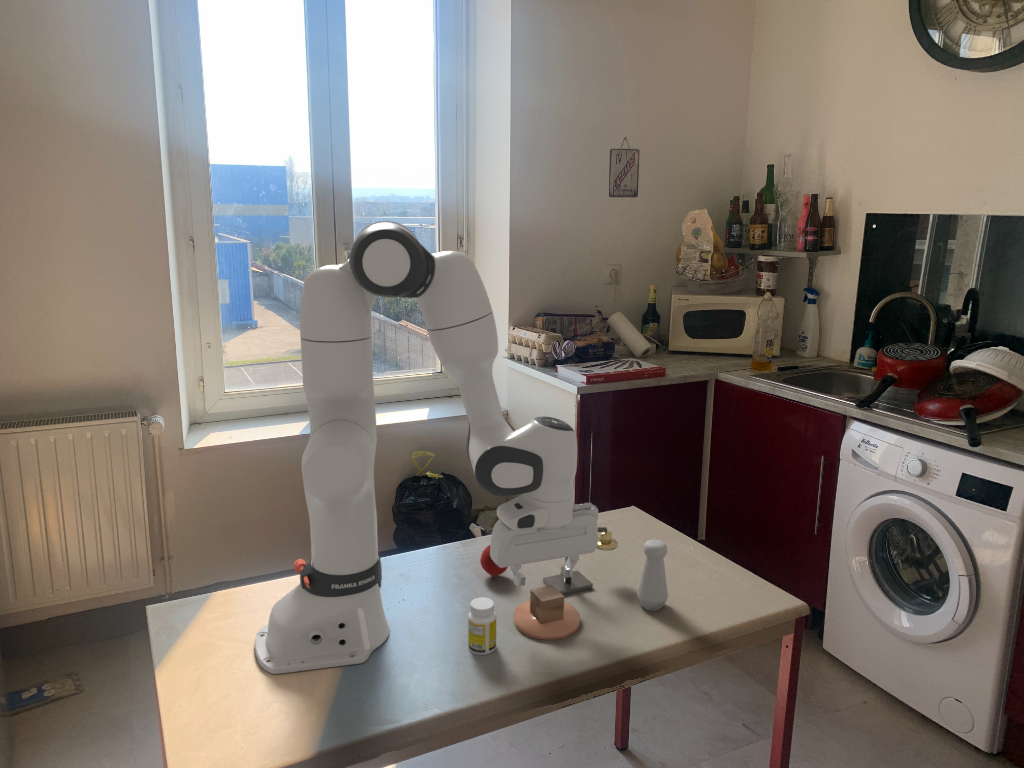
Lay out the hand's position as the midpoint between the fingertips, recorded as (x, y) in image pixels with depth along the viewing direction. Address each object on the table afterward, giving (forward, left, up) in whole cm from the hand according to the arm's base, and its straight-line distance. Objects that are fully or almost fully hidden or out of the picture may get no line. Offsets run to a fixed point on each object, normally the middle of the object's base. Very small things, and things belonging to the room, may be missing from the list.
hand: (542, 580), depth 132 cm
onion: (-1, +19, -8) cm, 21 cm away
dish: (+1, 0, -8) cm, 8 cm away
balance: (+11, +10, -8) cm, 17 cm away
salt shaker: (+22, -3, -8) cm, 24 cm away
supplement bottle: (-13, -3, -9) cm, 16 cm away
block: (+1, 0, -7) cm, 7 cm away
